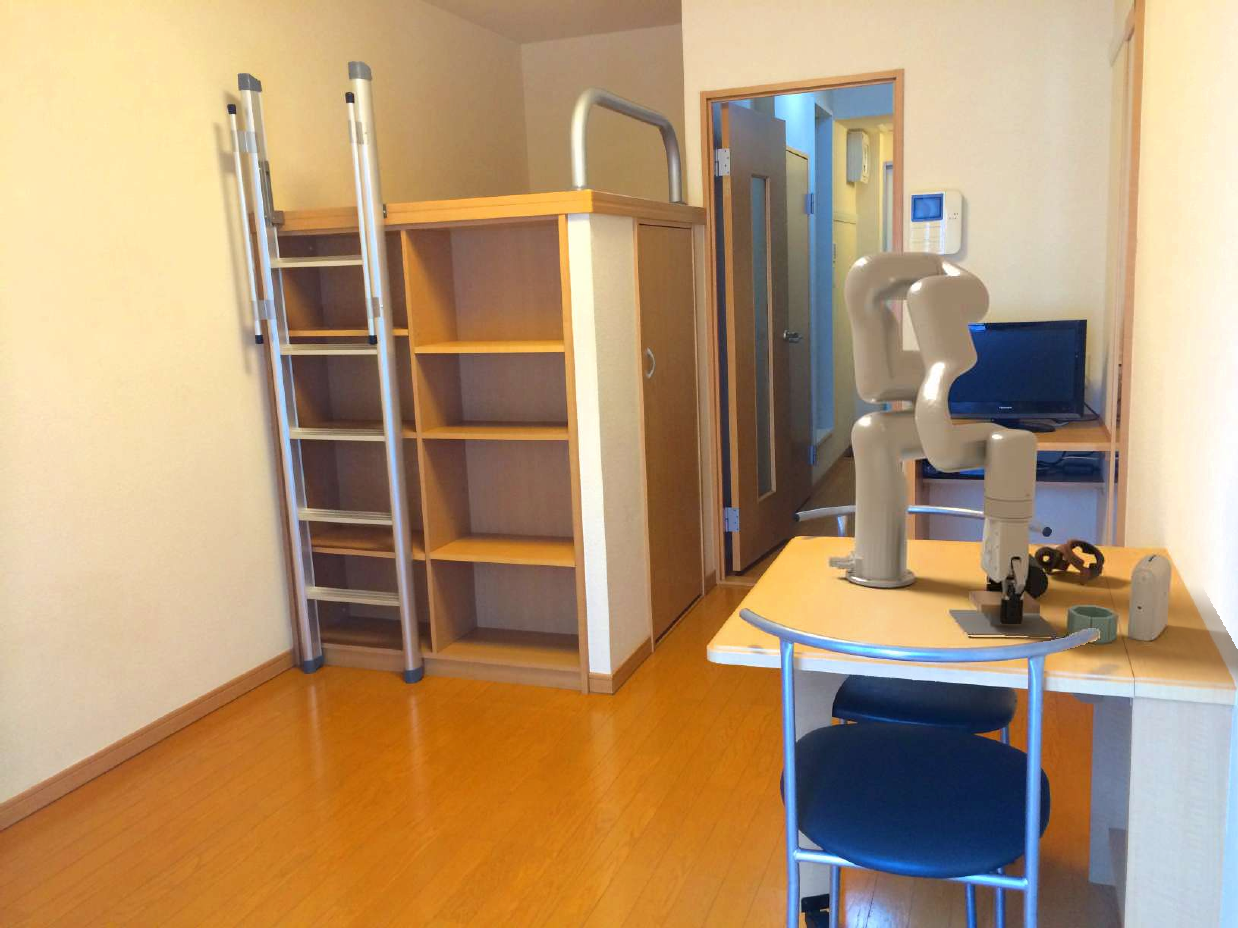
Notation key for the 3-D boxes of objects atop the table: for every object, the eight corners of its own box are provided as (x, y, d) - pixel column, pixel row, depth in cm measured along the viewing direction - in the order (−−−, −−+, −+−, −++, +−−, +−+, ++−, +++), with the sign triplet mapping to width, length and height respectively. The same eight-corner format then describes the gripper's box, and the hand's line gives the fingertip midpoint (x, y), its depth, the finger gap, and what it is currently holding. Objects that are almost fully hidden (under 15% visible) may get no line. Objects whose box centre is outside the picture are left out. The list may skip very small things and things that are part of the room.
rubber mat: (967, 637, 159) (968, 617, 158) (949, 612, 170) (949, 594, 170) (1060, 638, 157) (1061, 618, 157) (1035, 613, 169) (1036, 595, 169)
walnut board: (981, 612, 160) (981, 604, 160) (968, 599, 167) (969, 590, 167) (1039, 613, 159) (1040, 604, 159) (1024, 599, 167) (1025, 591, 166)
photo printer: (1154, 643, 155) (1160, 565, 152) (1123, 637, 157) (1129, 560, 155) (1170, 625, 162) (1176, 550, 160) (1140, 620, 165) (1146, 546, 163)
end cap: (1047, 604, 174) (1049, 566, 173) (1004, 602, 176) (1005, 564, 175) (1036, 587, 184) (1038, 551, 183) (995, 585, 186) (996, 549, 184)
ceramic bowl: (1076, 643, 155) (1078, 618, 154) (1061, 629, 162) (1063, 605, 161) (1121, 644, 155) (1123, 618, 154) (1104, 629, 161) (1106, 605, 160)
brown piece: (1077, 571, 195) (1100, 540, 190) (1093, 606, 188) (1117, 574, 183) (1019, 557, 194) (1040, 525, 189) (1033, 591, 187) (1055, 559, 182)
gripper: (969, 496, 169) (965, 598, 172) (1000, 520, 152) (994, 633, 155) (1015, 496, 169) (1010, 599, 172) (1051, 520, 152) (1045, 633, 155)
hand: (1003, 614), depth 164 cm, fingers closed on walnut board, 7 cm apart
